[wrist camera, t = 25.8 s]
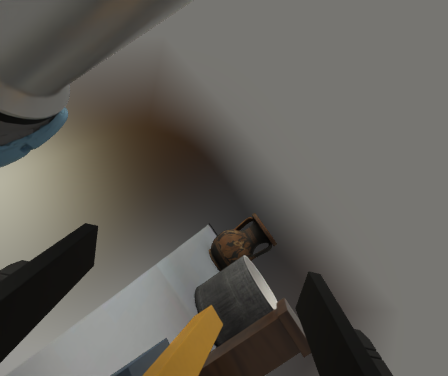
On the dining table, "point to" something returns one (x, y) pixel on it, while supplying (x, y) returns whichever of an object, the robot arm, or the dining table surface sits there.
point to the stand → (259, 346)
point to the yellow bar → (189, 347)
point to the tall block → (143, 361)
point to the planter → (236, 297)
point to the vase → (240, 243)
